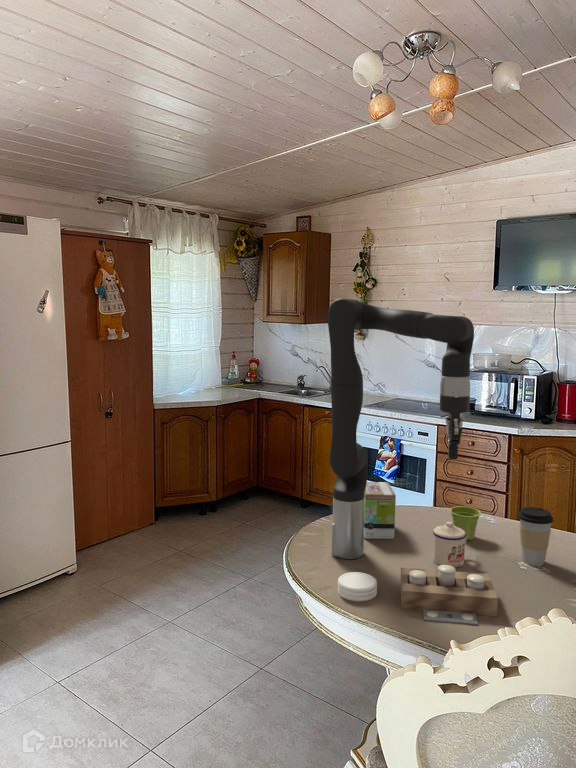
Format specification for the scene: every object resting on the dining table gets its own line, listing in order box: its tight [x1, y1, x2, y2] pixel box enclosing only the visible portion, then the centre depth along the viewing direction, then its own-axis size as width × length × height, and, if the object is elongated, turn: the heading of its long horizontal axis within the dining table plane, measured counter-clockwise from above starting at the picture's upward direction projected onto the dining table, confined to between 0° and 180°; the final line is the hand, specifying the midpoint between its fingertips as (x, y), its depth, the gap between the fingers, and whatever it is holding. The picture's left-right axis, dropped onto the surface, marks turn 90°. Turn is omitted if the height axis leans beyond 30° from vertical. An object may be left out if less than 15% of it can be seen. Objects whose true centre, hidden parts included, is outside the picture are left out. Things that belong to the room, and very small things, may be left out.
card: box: [422, 609, 479, 626], centre depth 132 cm, size 12×4×1 cm, turn 80°
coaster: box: [337, 571, 378, 602], centre depth 144 cm, size 10×10×4 cm
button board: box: [399, 567, 499, 617], centre depth 140 cm, size 22×13×4 cm, turn 80°
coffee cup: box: [517, 506, 554, 567], centre depth 162 cm, size 9×9×15 cm
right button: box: [467, 574, 485, 589], centre depth 139 cm, size 4×4×4 cm
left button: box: [409, 570, 426, 585], centre depth 141 cm, size 4×4×4 cm
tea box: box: [364, 481, 397, 540], centre depth 186 cm, size 15×10×15 cm
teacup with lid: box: [432, 521, 468, 569], centre depth 163 cm, size 12×9×12 cm
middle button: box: [437, 565, 457, 587], centre depth 140 cm, size 4×4×4 cm
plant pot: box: [449, 505, 482, 541], centre depth 180 cm, size 9×9×9 cm
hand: (452, 458), depth 148 cm, fingers closed
